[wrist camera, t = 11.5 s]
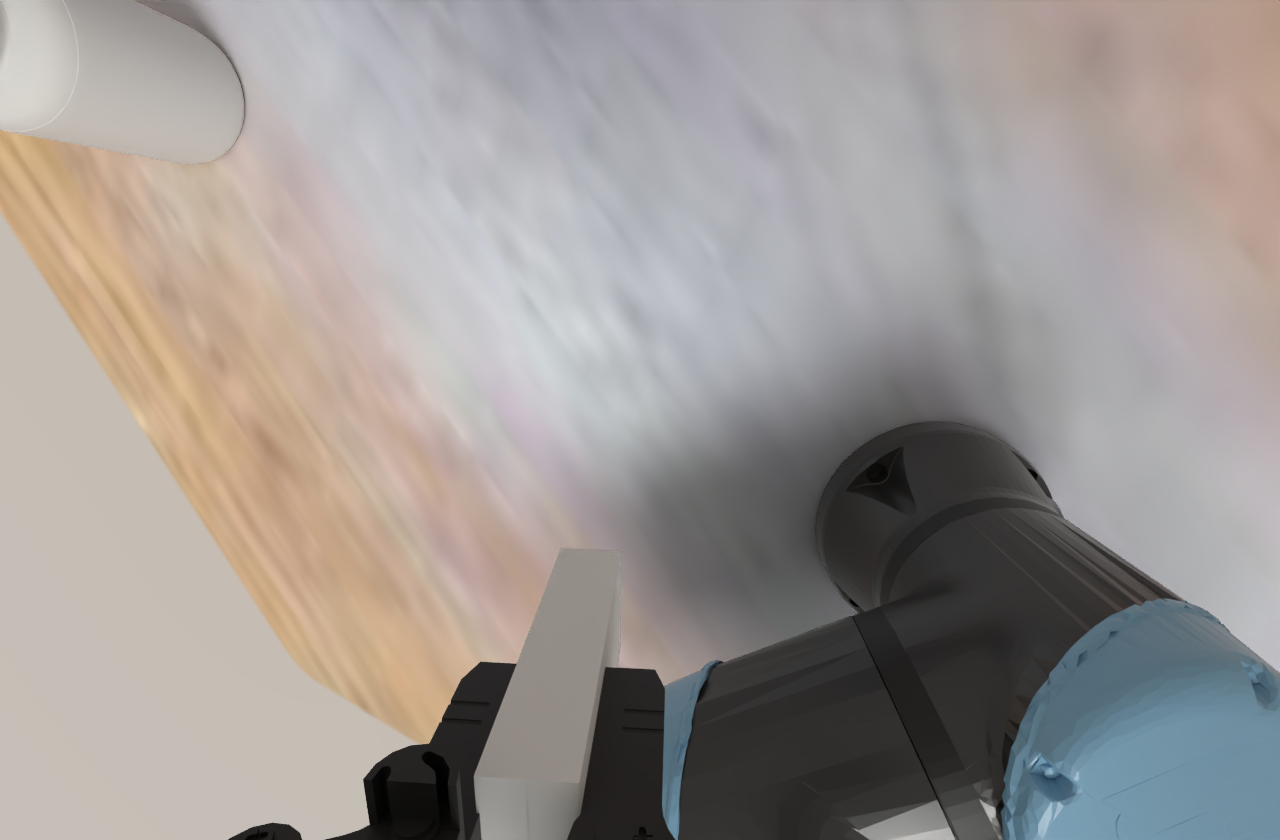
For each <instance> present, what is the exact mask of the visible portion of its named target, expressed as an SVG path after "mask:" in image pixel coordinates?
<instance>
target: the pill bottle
mask: <svg viewBox="0 0 1280 840" xmlns="http://www.w3.org/2000/svg"><path fill="white" fill-rule="evenodd" d="M243 120H244V97H243V92H242V88H241V85H240V82H239V79H238V77H237V74H236V72H235V70H234V68H233V67H232V65H231V63H230V62H229V60H228V59H227V57H226V56H225V55H224V54H223V52H222V51H221V50H220V49H219V48H218V47H217V46H216V45H215V44H214V43H213V42H212V41H211V40H209V39H208V38H207V37H205V36H204V35H202V34H201V33H199V32H198V31H196V30H194V29H193V28H191V27H189V26H187V25H185V24H183V23H181V22H179V21H177V20H175V19H172V18H170V17H168V16H166V15H164V14H162V13H160V12H158V11H155V10H153V9H151V8H149V7H147V6H145V5H143V4H141V3H138V2H136V1H134V0H0V130H3V131H7V132H12V133H17V134H22V135H28V136H33V137H39V138H44V139H49V140H55V141H60V142H66V143H71V144H76V145H82V146H87V147H93V148H98V149H103V150H109V151H114V152H120V153H125V154H130V155H136V156H141V157H147V158H152V159H157V160H163V161H168V162H174V163H180V164H202V163H207V162H210V161H213V160H215V159H217V158H219V157H221V156H222V155H224V154H225V153H226V152H227V151H228V150H229V149H230V148H231V147H232V146H233V145H234V143H235V142H236V140H237V138H238V136H239V134H240V132H241V129H242V125H243Z"/></svg>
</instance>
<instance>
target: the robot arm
mask: <svg viewBox="0 0 1280 840" xmlns="http://www.w3.org/2000/svg"><path fill="white" fill-rule="evenodd" d="M816 541H817V546H818V550H819V554H820V557H821V559H822V562H823V564H824V566H825V568H826V570H827V573H828V575H829V577H830V579H831V581H832V583H833V584H834V586H835V588H836V589H837V590H838V592H839V593H840V594H841V596H842V597H843V598H844V599H845V601H846V602H847V603H848V604H849V605H850V606H851V607H853V608H854V609H855V610H856V611H857V612H859V613H860V614H857V615H855V616H850V617H847V618H844V619H841V620H839V621H836V622H833V623H831V624H828V625H825V626H822V627H820V628H817V629H814V630H812V631H809V632H806V633H803V634H801V635H798V636H795V637H793V638H790V639H787V640H784V641H782V642H779V643H776V644H774V645H771V646H768V647H765V648H763V649H760V650H757V651H755V652H752V653H749V654H746V655H744V656H741V657H738V658H735V659H733V660H730V661H727V662H722V661H718V660H715V661H712V662H710V663H708V664H706V665H705V666H704V667H703V668H702V670H700V671H698V672H696V673H693V674H691V675H689V676H686V677H684V678H682V679H679V680H677V681H675V682H672V683H670V684H668V685H665V686H663V684H662V682H661V680H660V678H659V676H658V674H657V673H656V671H655V670H650V669H632V668H617V667H618V659H619V652H620V645H621V551H612V550H589V549H567V548H561V550H560V553H559V555H558V558H557V560H556V563H555V566H554V568H553V571H552V573H551V576H550V579H549V581H548V584H547V586H546V589H545V592H544V594H543V597H542V599H541V602H540V605H539V607H538V610H537V613H536V615H535V618H534V620H533V623H532V626H531V628H530V631H529V633H528V636H527V639H526V641H525V644H524V646H523V649H522V652H521V654H520V657H519V659H518V662H517V664H510V663H492V662H480V663H479V664H478V665H477V666H476V667H474V668H473V669H472V670H471V671H470V672H469V673H468V674H467V675H466V676H465V677H464V678H462V679H461V681H460V683H459V685H458V687H457V689H456V691H455V693H454V695H453V697H452V699H451V704H450V705H448V707H447V709H446V711H445V713H444V715H443V717H442V722H440V723H439V725H438V727H437V729H436V731H435V733H434V735H433V737H432V739H431V741H430V743H429V744H422V745H412V746H408V747H406V748H403V749H400V750H398V751H395V752H392V753H391V754H390V755H388V756H387V757H385V758H384V759H383V760H381V761H380V762H378V763H377V764H375V766H374V767H373V768H372V769H371V771H370V772H369V773H368V774H367V775H366V777H365V778H364V779H363V781H364V788H365V794H366V801H367V808H368V815H369V822H370V825H369V826H367V827H365V828H363V829H361V830H359V831H355V832H352V833H350V834H346V835H343V836H339V837H334V838H330V839H326V840H1280V673H1279V672H1278V671H1277V670H1275V669H1274V668H1273V667H1272V666H1270V665H1269V664H1268V663H1267V662H1266V661H1264V660H1263V659H1262V658H1261V657H1259V656H1258V655H1257V654H1256V653H1254V652H1253V651H1252V650H1251V649H1250V648H1248V647H1247V646H1246V645H1245V644H1243V643H1242V642H1241V641H1240V640H1238V639H1237V638H1236V637H1235V636H1234V635H1232V634H1231V633H1230V631H1229V630H1228V629H1227V628H1226V627H1225V626H1224V625H1223V624H1221V622H1220V621H1219V620H1218V619H1217V618H1216V617H1214V616H1213V615H1211V614H1210V613H1209V612H1208V611H1206V610H1204V609H1202V608H1200V607H1197V606H1195V605H1192V604H1190V603H1188V602H1186V601H1185V600H1183V599H1182V598H1180V597H1179V596H1177V595H1176V594H1174V593H1173V592H1171V591H1170V590H1169V589H1167V588H1166V587H1164V586H1163V585H1161V584H1160V583H1158V582H1157V581H1155V580H1154V579H1152V578H1151V577H1149V576H1148V575H1147V574H1145V573H1144V572H1142V571H1141V570H1139V569H1138V568H1136V567H1135V566H1133V565H1132V564H1130V563H1129V562H1127V561H1126V560H1124V559H1123V558H1122V557H1120V556H1119V555H1117V554H1116V553H1114V552H1113V551H1111V550H1110V549H1108V548H1107V547H1105V546H1104V545H1102V544H1101V543H1100V542H1098V541H1097V540H1095V539H1094V538H1092V537H1091V536H1089V535H1088V534H1086V533H1085V532H1083V531H1082V530H1080V529H1079V528H1078V527H1076V526H1075V525H1073V524H1072V523H1070V522H1069V521H1067V520H1066V519H1065V518H1064V516H1063V515H1062V513H1061V511H1060V509H1059V507H1058V506H1057V504H1056V503H1055V501H1053V499H1052V496H1051V494H1050V491H1049V489H1048V487H1047V485H1046V484H1045V482H1044V480H1043V478H1042V477H1041V475H1040V474H1039V473H1038V471H1037V470H1036V469H1035V467H1034V466H1033V465H1032V464H1031V463H1030V462H1029V461H1028V460H1027V459H1026V458H1025V457H1024V456H1023V455H1021V454H1020V453H1019V452H1018V451H1016V450H1015V449H1013V448H1012V447H1010V446H1009V445H1007V444H1005V443H1004V442H1002V441H1000V440H999V439H997V438H995V437H994V436H992V435H990V434H988V433H986V432H984V431H982V430H979V429H977V428H974V427H970V426H967V425H962V424H957V423H950V422H925V423H918V424H912V425H907V426H904V427H900V428H897V429H894V430H891V431H889V432H887V433H884V434H882V435H880V436H878V437H876V438H874V439H872V440H871V441H869V442H867V443H866V444H865V445H863V446H862V447H860V448H859V449H858V450H856V451H855V452H854V453H853V454H852V455H851V456H850V457H848V458H847V459H846V460H845V462H844V463H843V464H842V465H841V466H840V467H839V468H838V470H837V471H836V472H835V474H834V475H833V476H832V478H831V480H830V481H829V483H828V485H827V487H826V489H825V491H824V493H823V495H822V498H821V501H820V504H819V508H818V512H817V518H816ZM228 840H302V838H301V835H300V833H299V832H298V831H297V830H295V829H294V828H292V827H291V826H290V825H287V824H278V823H270V824H265V825H261V826H256V827H252V828H250V829H248V830H246V831H244V832H242V833H240V834H238V835H236V836H234V837H232V838H230V839H228Z"/></svg>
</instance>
